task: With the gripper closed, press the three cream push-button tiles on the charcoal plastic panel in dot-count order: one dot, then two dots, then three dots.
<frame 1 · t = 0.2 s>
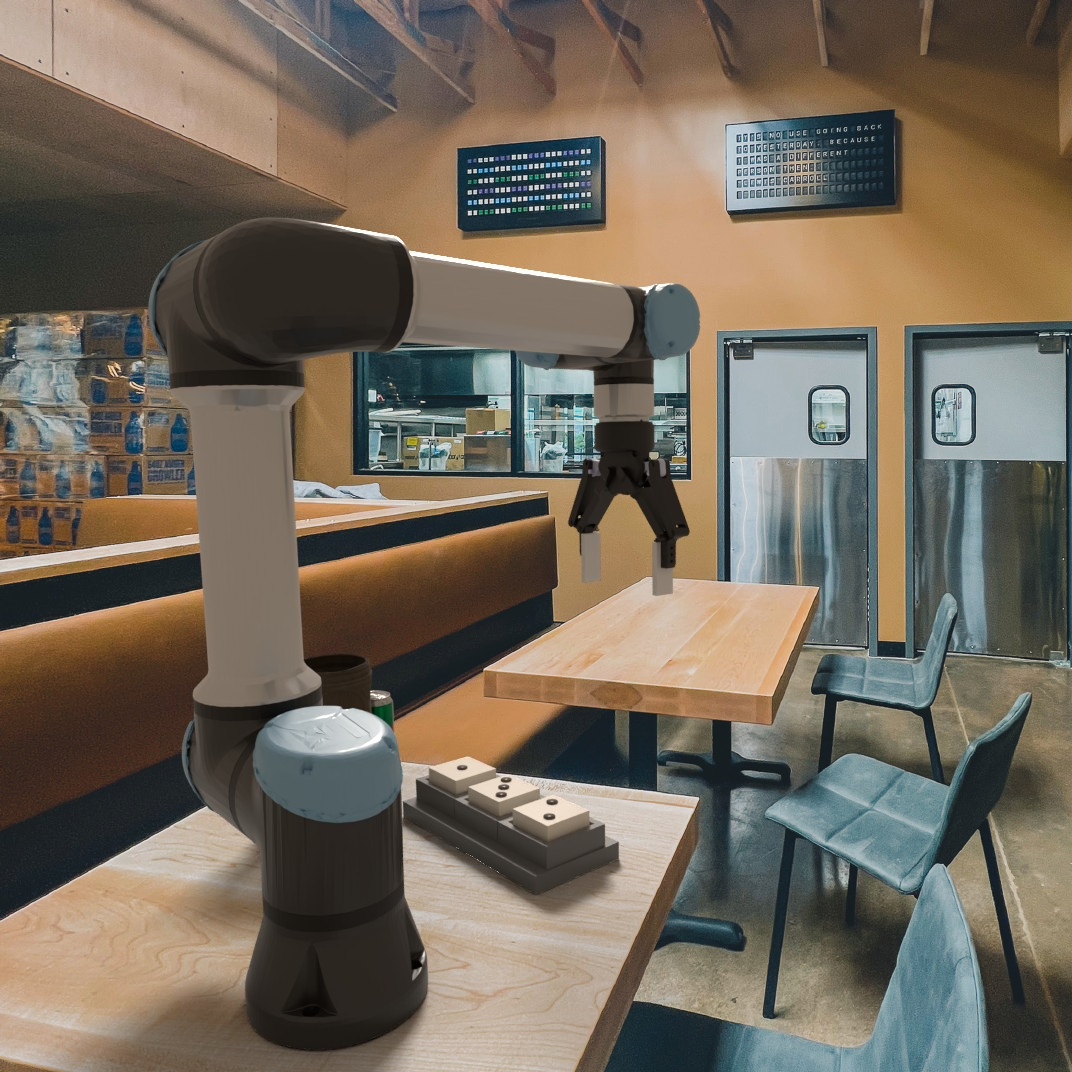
hand: (625, 588, 115), 27 cm above the table, tool pointing down, fingers open, 13 cm apart
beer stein: (320, 820, 112), on the table
tile one dot: (462, 777, 112), point 5 cm above the table, slide at 0.0 cm
tile three dots: (503, 797, 105), point 5 cm above the table, slide at 0.0 cm
soda can: (377, 780, 125), on the table
button panel: (504, 836, 106), on the table
tile two dots: (550, 819, 99), point 5 cm above the table, slide at 0.0 cm
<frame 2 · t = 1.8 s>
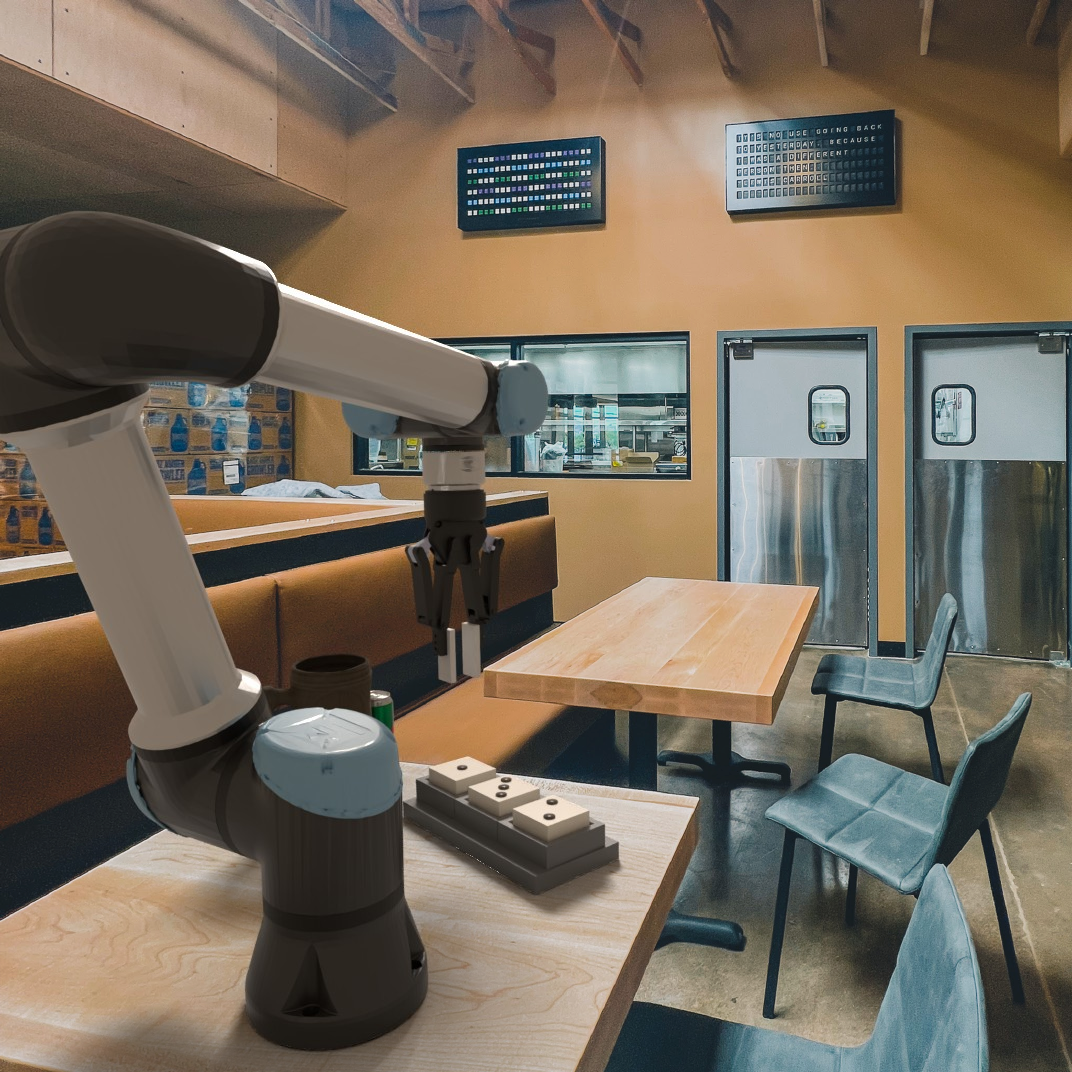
hand: (459, 677, 111), 18 cm above the table, tool pointing down, fingers open, 3 cm apart
nothing on the table moved.
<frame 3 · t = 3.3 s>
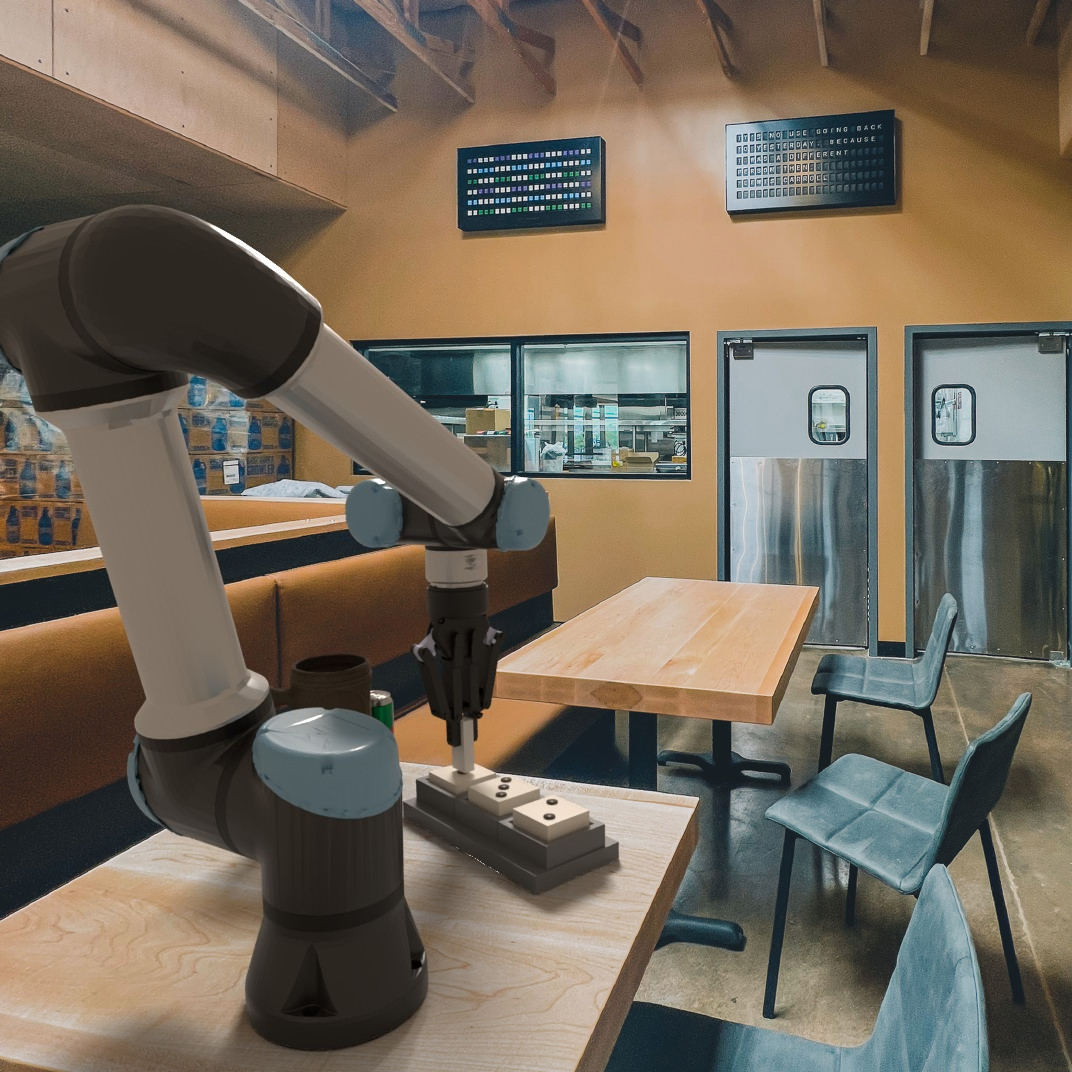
hand: (463, 768, 112), 6 cm above the table, tool pointing down, fingers closed
tile one dot: (462, 781, 112), point 4 cm above the table, slide at 0.6 cm, touching gripper
everything else where it was.
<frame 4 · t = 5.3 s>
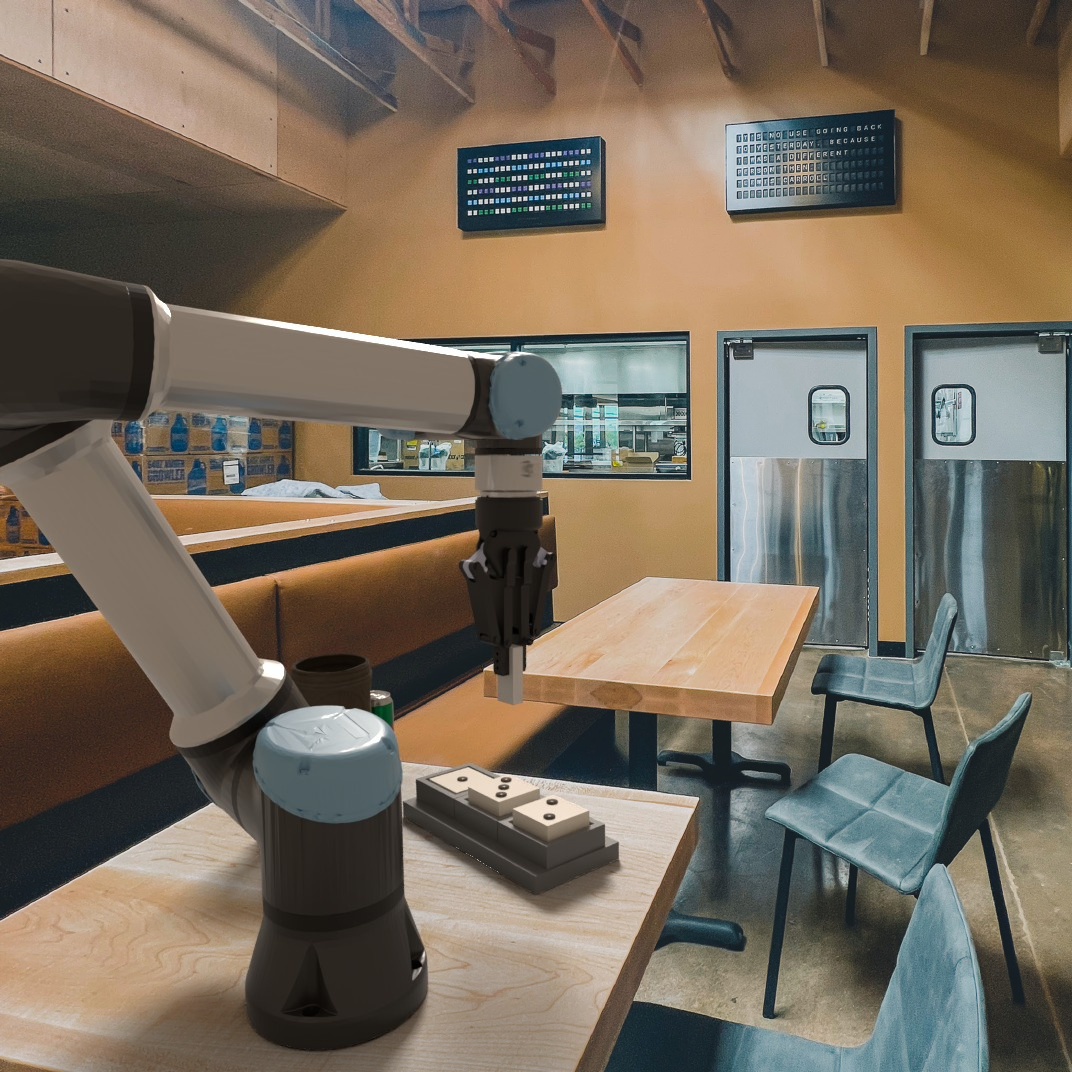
hand: (510, 701, 102), 17 cm above the table, tool pointing down, fingers closed
tile one dot: (462, 788, 112), point 3 cm above the table, slide at 1.5 cm
everything else where it was.
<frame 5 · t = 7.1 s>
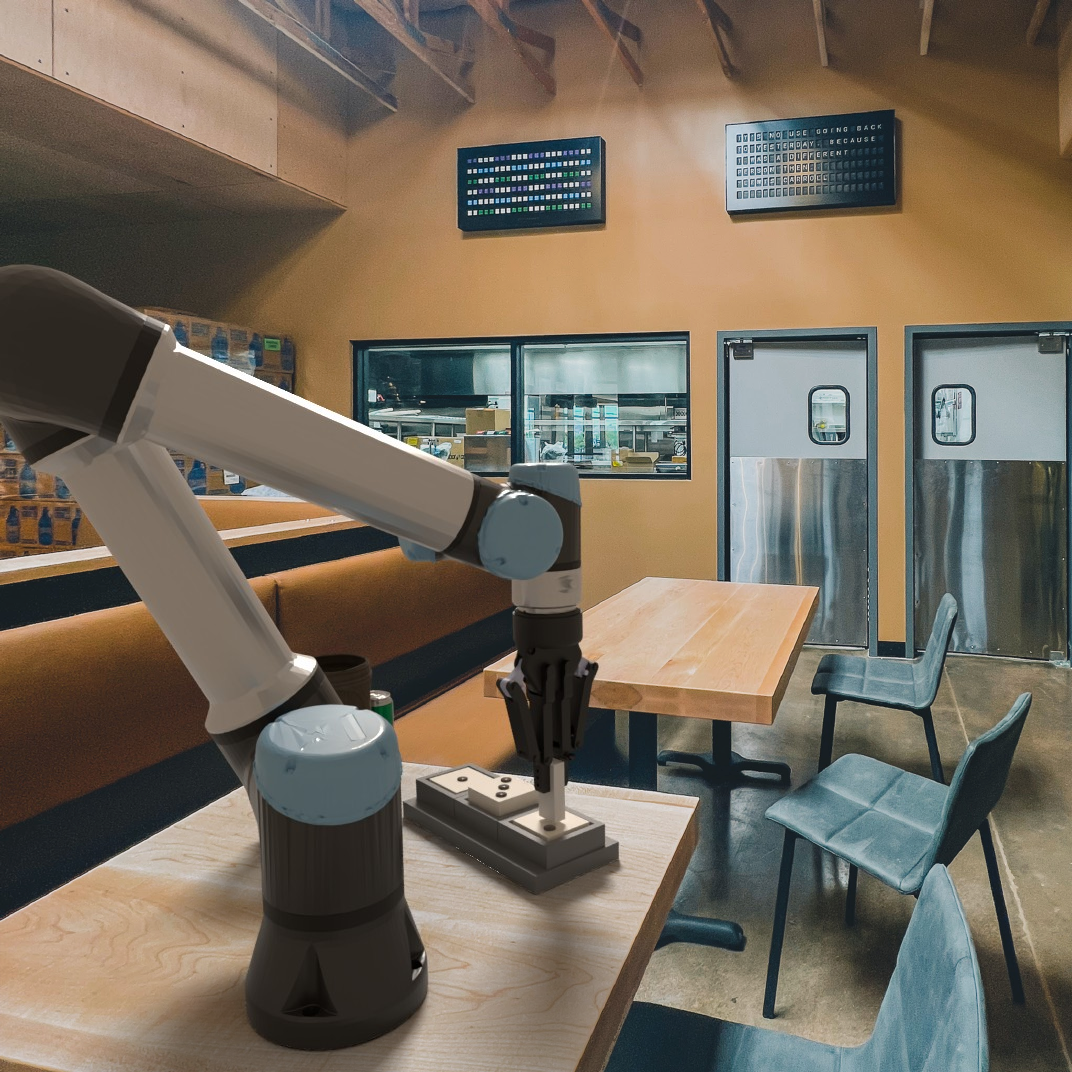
hand: (552, 817, 99), 5 cm above the table, tool pointing down, fingers closed
tile two dots: (551, 831, 99), point 4 cm above the table, slide at 1.3 cm, touching gripper
everything else where it was.
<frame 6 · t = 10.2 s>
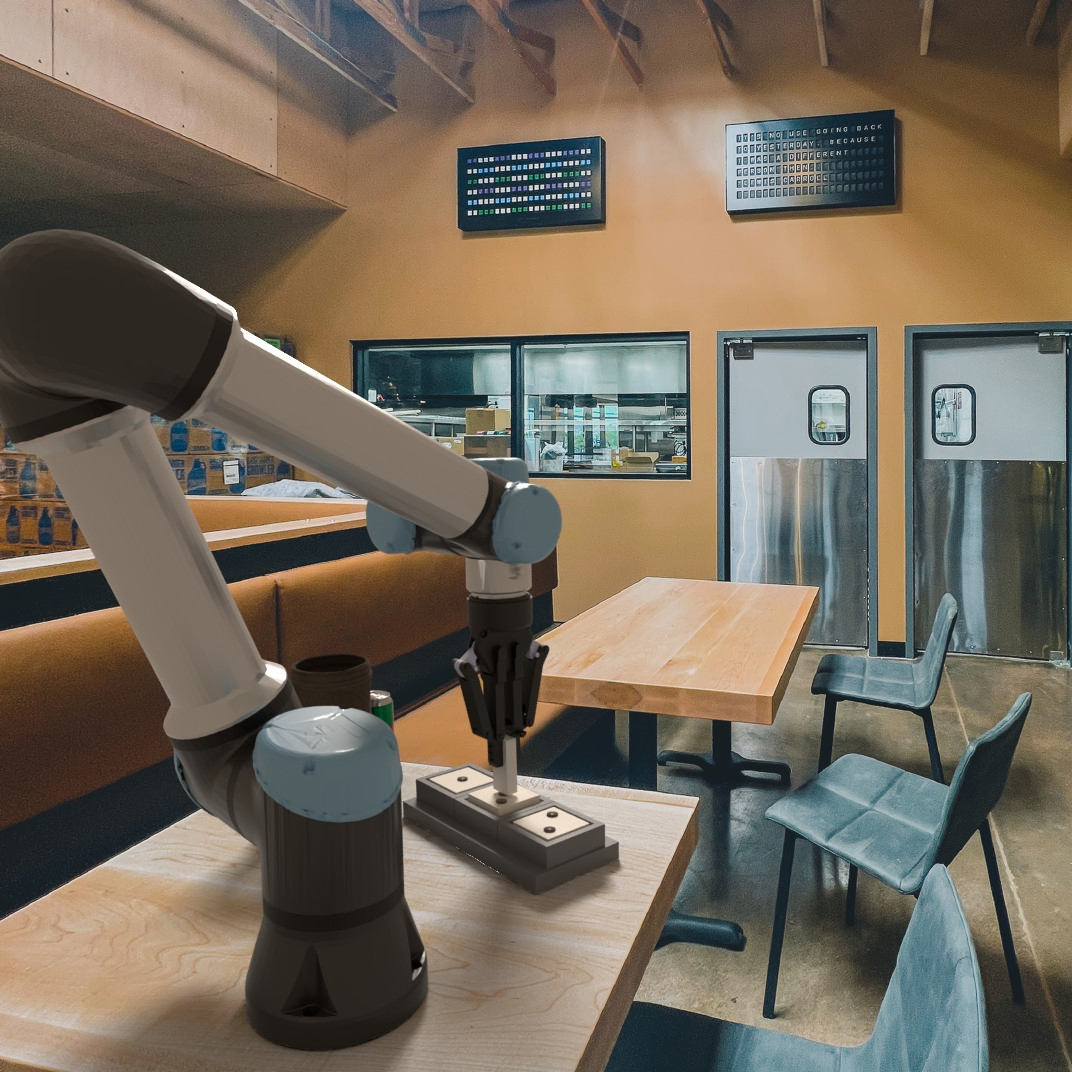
hand: (505, 790, 105), 6 cm above the table, tool pointing down, fingers closed
tile three dots: (504, 803, 105), point 4 cm above the table, slide at 0.8 cm, touching gripper
tile two dots: (551, 832, 99), point 3 cm above the table, slide at 1.5 cm
everything else where it was.
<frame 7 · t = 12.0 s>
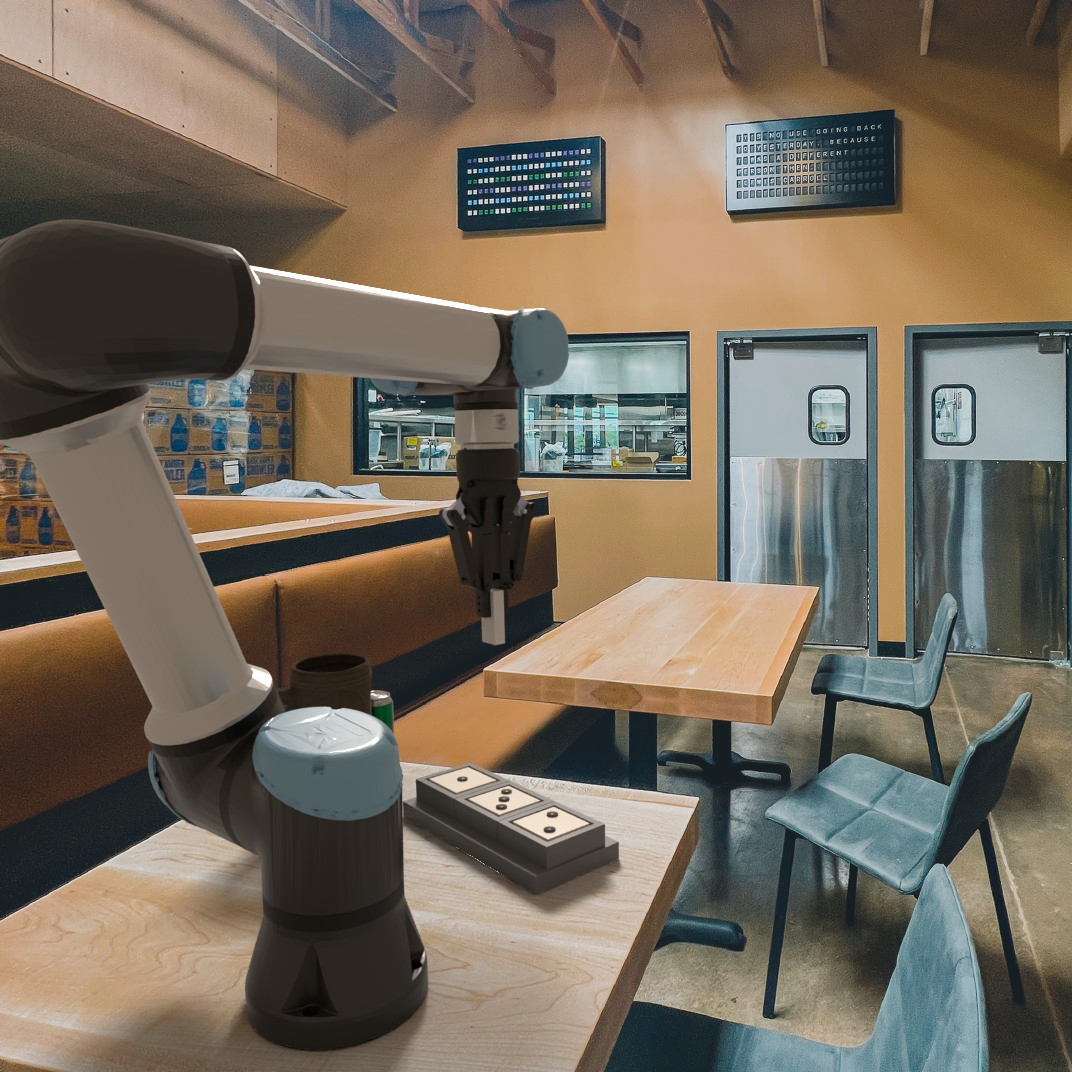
hand: (493, 642, 109), 22 cm above the table, tool pointing down, fingers closed
tile three dots: (504, 809, 106), point 3 cm above the table, slide at 1.5 cm
everything else where it was.
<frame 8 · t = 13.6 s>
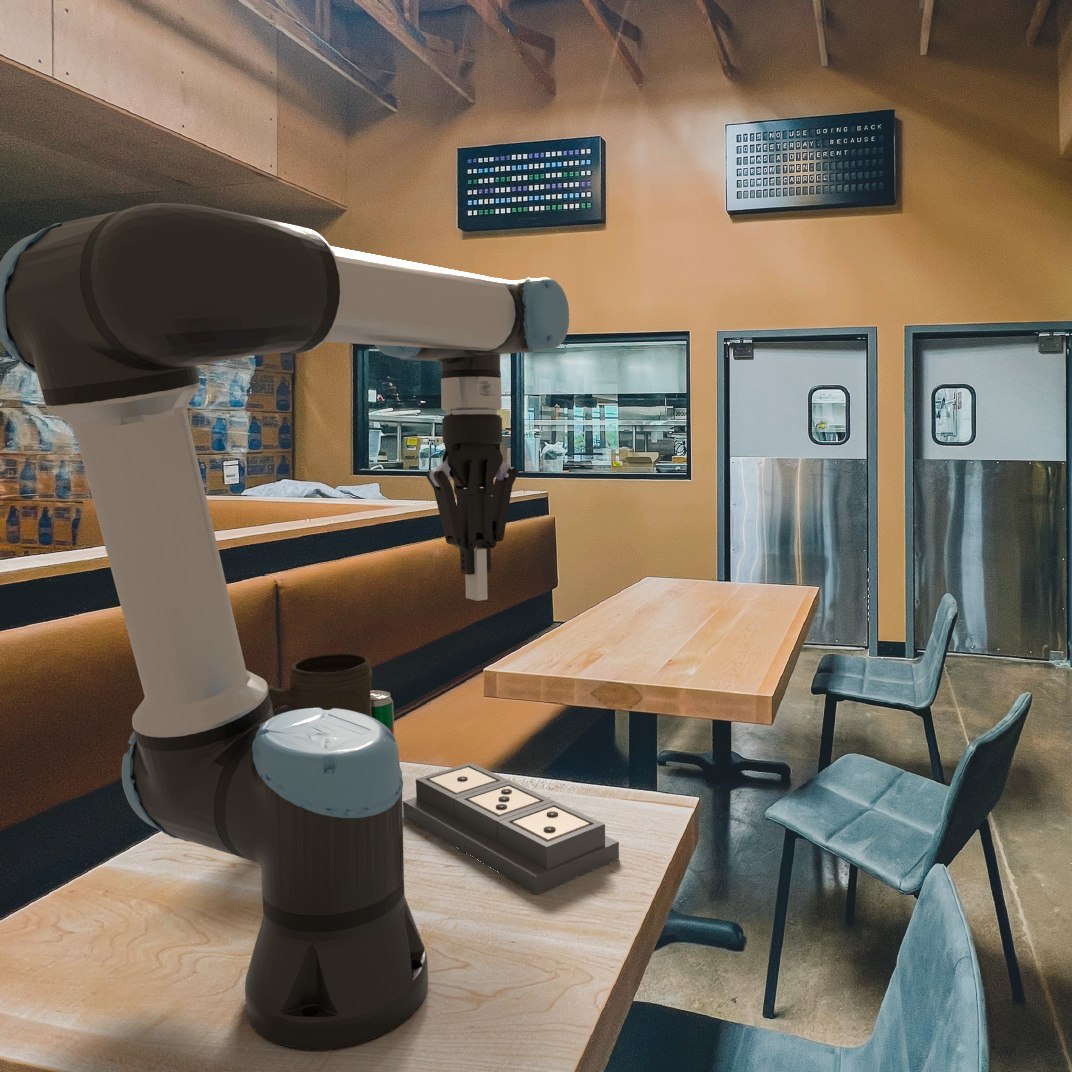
hand: (476, 598, 115), 26 cm above the table, tool pointing down, fingers closed
nothing on the table moved.
at the end: tile one dot slide at 1.5 cm; tile two dots slide at 1.5 cm; tile three dots slide at 1.5 cm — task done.
